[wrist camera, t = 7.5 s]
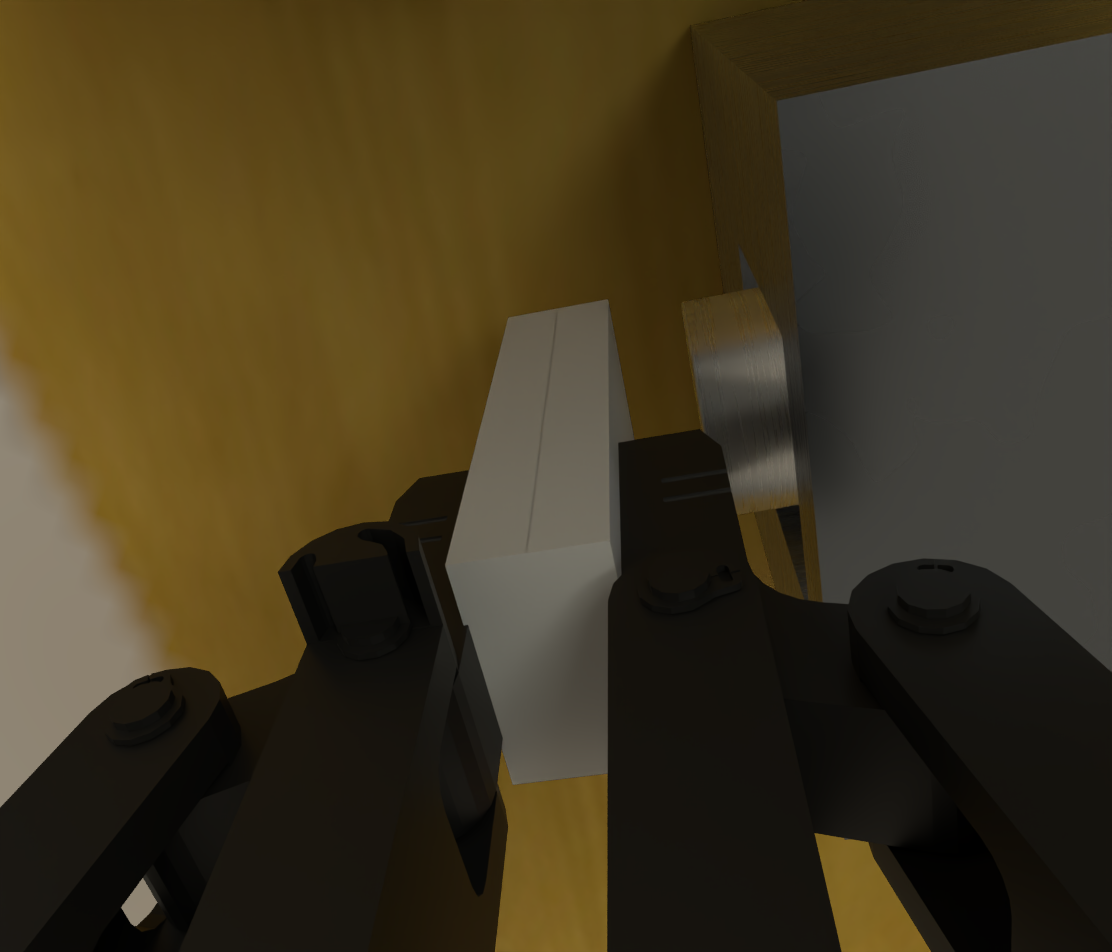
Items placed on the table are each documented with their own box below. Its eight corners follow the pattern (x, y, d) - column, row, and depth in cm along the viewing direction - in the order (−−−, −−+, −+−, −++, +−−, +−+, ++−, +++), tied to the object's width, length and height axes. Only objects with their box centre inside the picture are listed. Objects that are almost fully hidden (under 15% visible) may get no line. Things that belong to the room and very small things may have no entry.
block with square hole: (689, 25, 16) (776, 100, 8) (1203, -86, 15) (1848, -117, 7) (748, 493, 20) (844, 839, 13) (1156, 430, 19) (1542, 763, 12)
